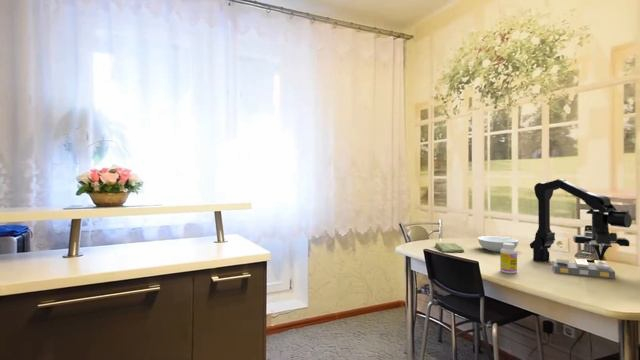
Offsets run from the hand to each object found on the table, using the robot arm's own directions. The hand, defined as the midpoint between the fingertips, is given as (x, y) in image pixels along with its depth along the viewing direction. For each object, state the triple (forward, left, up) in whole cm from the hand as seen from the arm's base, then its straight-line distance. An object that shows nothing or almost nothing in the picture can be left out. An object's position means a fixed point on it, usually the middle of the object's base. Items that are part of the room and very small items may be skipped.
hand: (600, 259), depth 154 cm
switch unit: (-7, -2, -6) cm, 9 cm away
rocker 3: (0, -2, -2) cm, 3 cm away
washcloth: (-67, +24, -7) cm, 71 cm away
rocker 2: (-7, -2, -2) cm, 7 cm away
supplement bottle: (-35, -14, -6) cm, 39 cm away
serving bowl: (-41, +33, -6) cm, 53 cm away
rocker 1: (-14, -2, -2) cm, 14 cm away
